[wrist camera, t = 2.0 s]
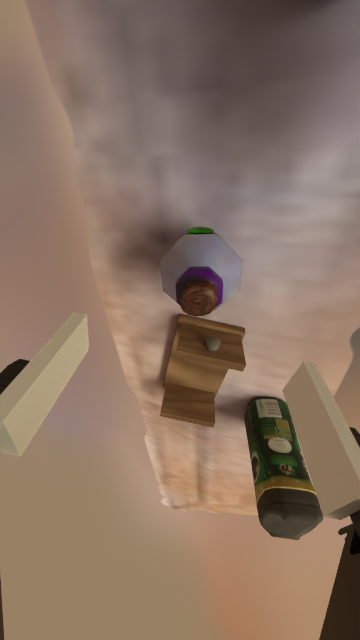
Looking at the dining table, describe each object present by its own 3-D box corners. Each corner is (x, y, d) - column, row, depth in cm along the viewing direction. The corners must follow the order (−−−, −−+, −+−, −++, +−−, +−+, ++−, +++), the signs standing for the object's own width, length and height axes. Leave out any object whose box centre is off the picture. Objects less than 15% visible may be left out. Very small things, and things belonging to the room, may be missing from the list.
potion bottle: (223, 202, 25) (232, 229, 15) (246, 270, 29) (264, 326, 19) (156, 235, 28) (127, 276, 18) (185, 292, 32) (174, 351, 22)
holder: (180, 311, 34) (174, 343, 28) (245, 326, 34) (252, 360, 28) (163, 384, 44) (156, 418, 38) (213, 394, 44) (214, 430, 38)
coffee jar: (279, 425, 48) (311, 547, 33) (241, 421, 48) (255, 539, 33) (292, 396, 42) (338, 528, 27) (249, 393, 43) (270, 519, 28)
